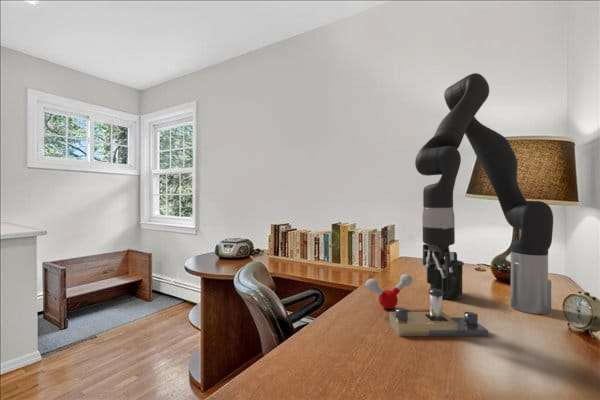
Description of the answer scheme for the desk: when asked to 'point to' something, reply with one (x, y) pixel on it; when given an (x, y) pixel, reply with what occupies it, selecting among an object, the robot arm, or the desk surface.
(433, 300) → the pin
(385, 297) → the molecular model
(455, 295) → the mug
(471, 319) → the two-tone base plate
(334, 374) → the desk surface
